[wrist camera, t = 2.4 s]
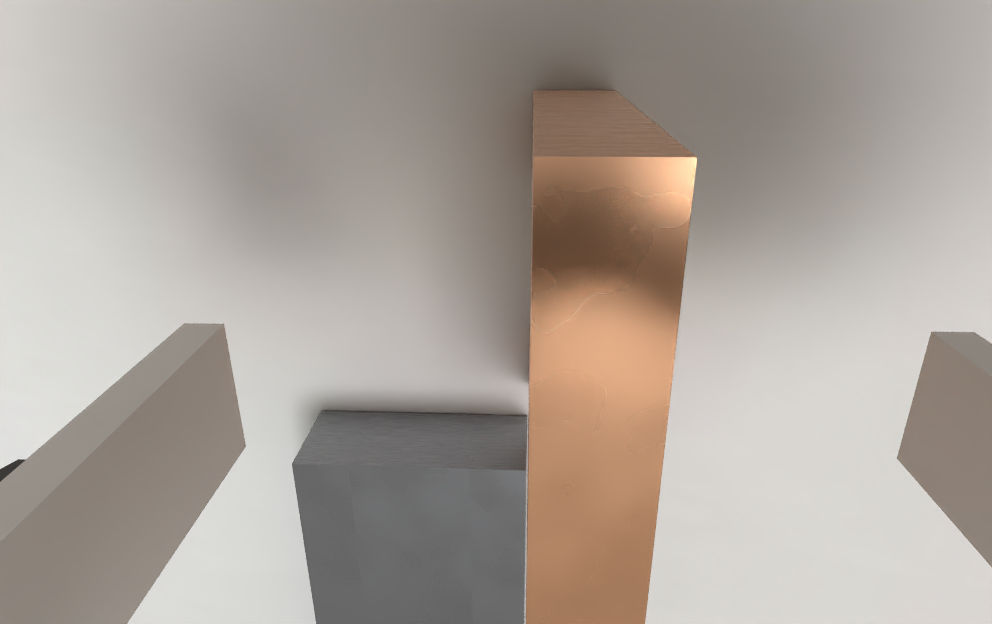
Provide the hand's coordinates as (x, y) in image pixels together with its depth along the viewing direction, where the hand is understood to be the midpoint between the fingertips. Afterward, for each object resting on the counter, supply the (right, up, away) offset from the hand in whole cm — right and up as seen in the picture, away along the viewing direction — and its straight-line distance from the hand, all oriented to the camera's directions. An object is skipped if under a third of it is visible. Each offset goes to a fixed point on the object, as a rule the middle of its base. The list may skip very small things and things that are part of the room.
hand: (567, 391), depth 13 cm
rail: (-4, -13, +15) cm, 20 cm away
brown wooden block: (+1, +3, +7) cm, 8 cm away
